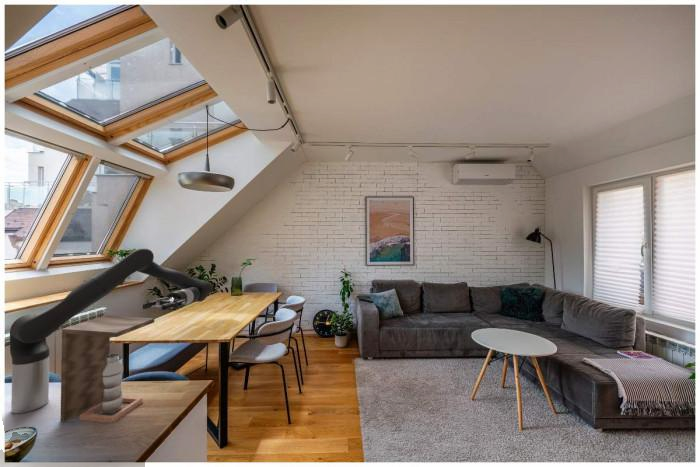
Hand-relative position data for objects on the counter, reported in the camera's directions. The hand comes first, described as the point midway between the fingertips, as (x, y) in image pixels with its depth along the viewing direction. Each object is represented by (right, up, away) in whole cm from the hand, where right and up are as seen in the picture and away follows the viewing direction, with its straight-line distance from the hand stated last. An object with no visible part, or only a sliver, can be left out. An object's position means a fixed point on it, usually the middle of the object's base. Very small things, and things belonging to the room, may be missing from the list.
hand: (153, 307), depth 119 cm
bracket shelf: (-7, -34, -13) cm, 37 cm away
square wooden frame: (-6, -34, -13) cm, 37 cm away
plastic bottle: (-6, -34, -14) cm, 37 cm away
